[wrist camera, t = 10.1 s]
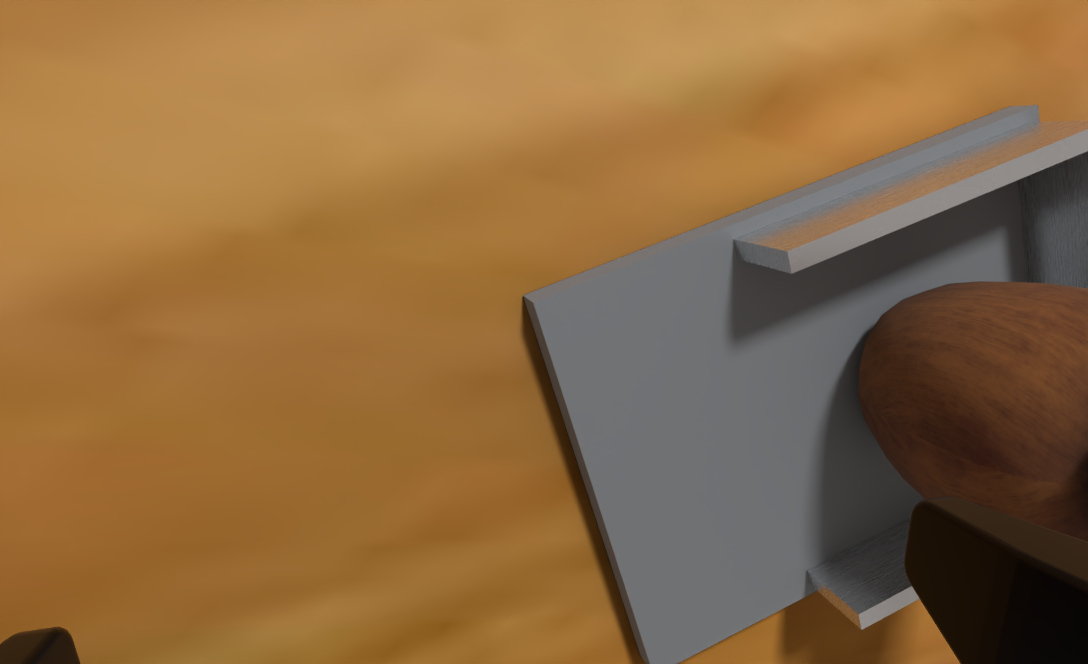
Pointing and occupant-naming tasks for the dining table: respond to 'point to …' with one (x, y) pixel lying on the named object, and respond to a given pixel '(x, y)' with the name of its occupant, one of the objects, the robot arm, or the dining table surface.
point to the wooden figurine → (986, 397)
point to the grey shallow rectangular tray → (787, 373)
